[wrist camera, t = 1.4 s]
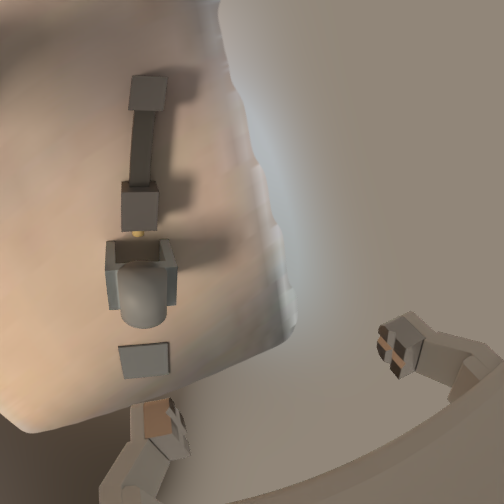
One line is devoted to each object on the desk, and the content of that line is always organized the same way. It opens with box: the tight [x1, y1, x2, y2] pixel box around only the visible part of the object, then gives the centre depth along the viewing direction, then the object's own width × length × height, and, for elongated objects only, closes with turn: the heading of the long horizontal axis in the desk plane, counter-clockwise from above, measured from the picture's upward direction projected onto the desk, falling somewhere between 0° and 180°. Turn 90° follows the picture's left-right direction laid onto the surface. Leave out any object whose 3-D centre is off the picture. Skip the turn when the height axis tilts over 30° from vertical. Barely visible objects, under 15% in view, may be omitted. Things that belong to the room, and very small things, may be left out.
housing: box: [105, 239, 178, 329], centre depth 38 cm, size 6×9×12 cm, turn 80°
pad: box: [118, 342, 168, 379], centre depth 53 cm, size 9×9×1 cm
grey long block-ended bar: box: [121, 76, 168, 237], centre depth 34 cm, size 20×4×4 cm, turn 170°
